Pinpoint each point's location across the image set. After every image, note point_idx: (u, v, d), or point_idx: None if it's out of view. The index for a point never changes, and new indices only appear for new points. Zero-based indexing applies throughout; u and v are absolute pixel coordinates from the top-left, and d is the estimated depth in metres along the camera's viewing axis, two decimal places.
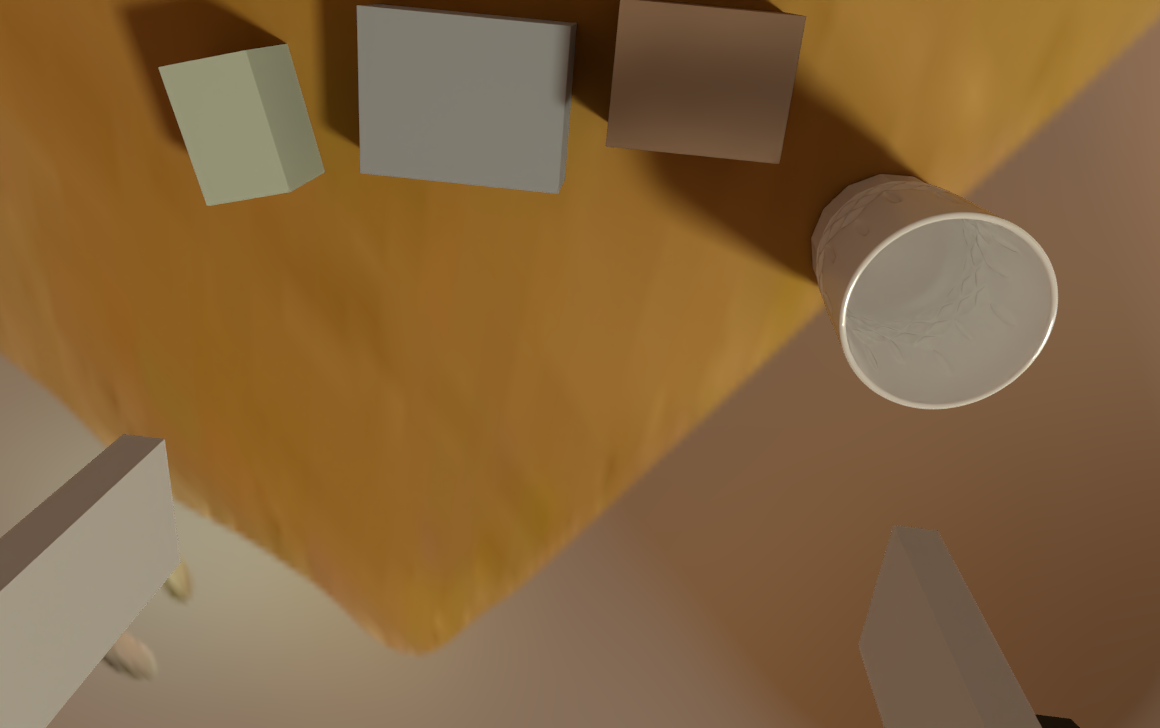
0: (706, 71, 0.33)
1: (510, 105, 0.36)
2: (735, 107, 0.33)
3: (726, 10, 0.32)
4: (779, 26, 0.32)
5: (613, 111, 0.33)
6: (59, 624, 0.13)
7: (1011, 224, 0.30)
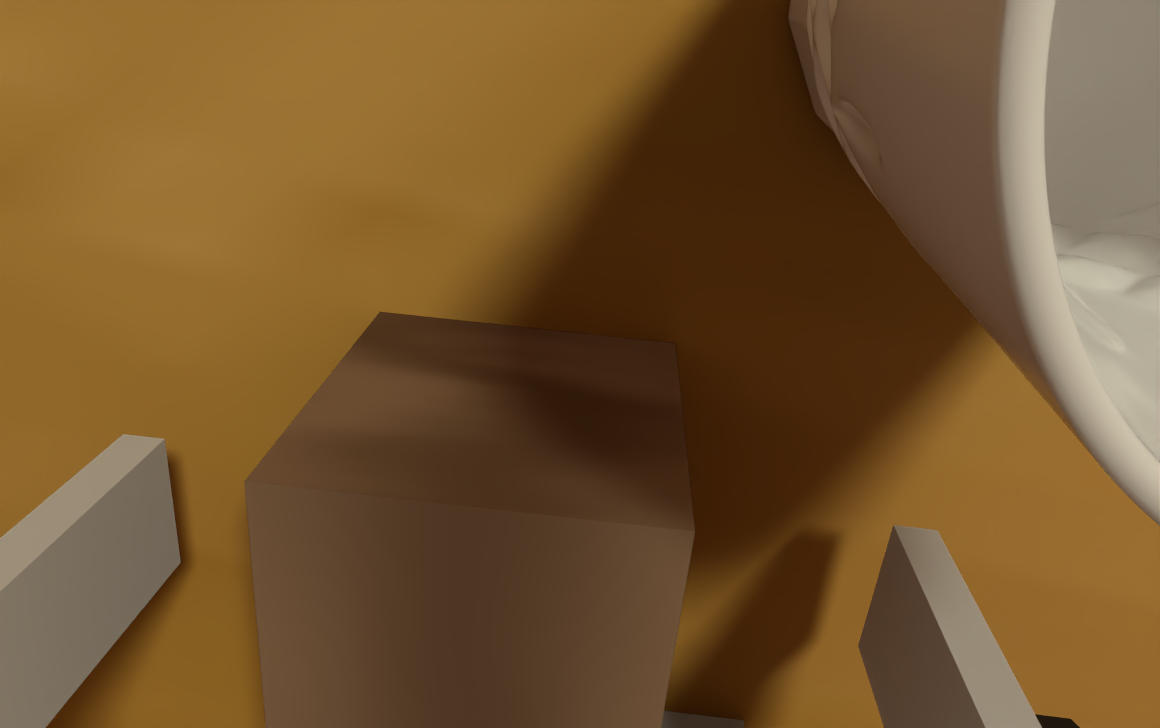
0: (426, 709, 0.12)
1: None
2: (521, 647, 0.11)
3: (265, 667, 0.11)
4: (283, 546, 0.11)
5: None
6: (59, 624, 0.13)
7: None
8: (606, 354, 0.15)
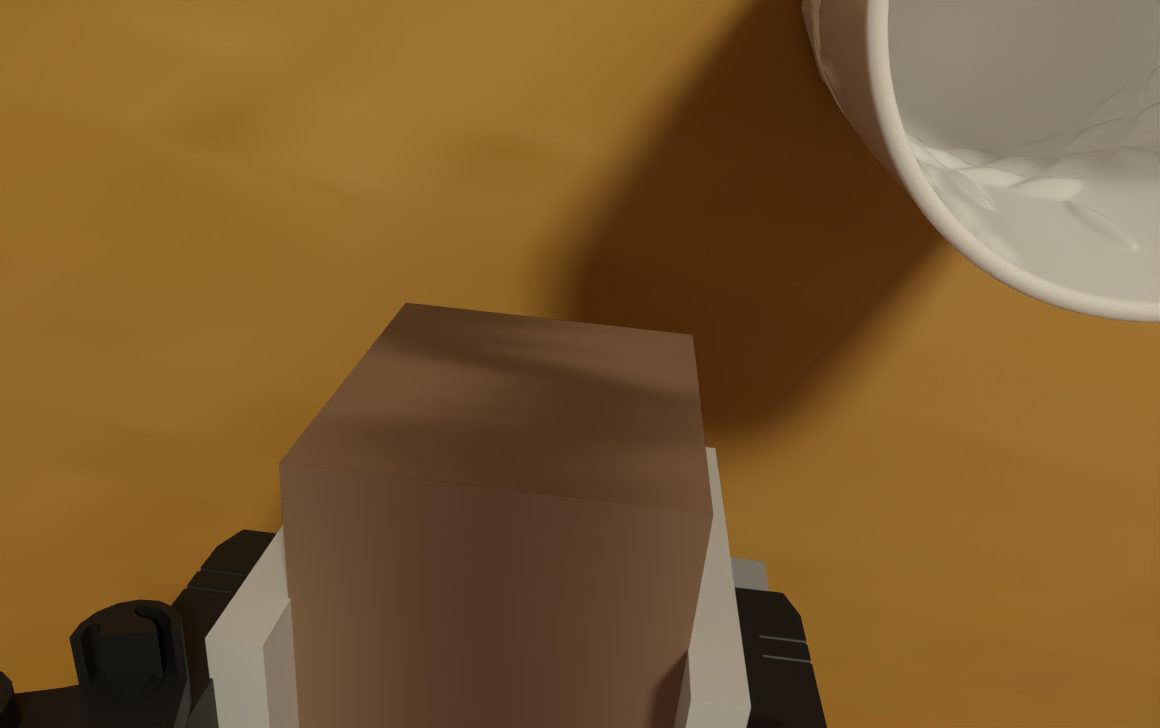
0: (451, 688, 0.12)
1: None
2: (543, 627, 0.11)
3: (296, 644, 0.12)
4: (316, 527, 0.11)
5: None
6: None
7: None
8: (625, 346, 0.15)
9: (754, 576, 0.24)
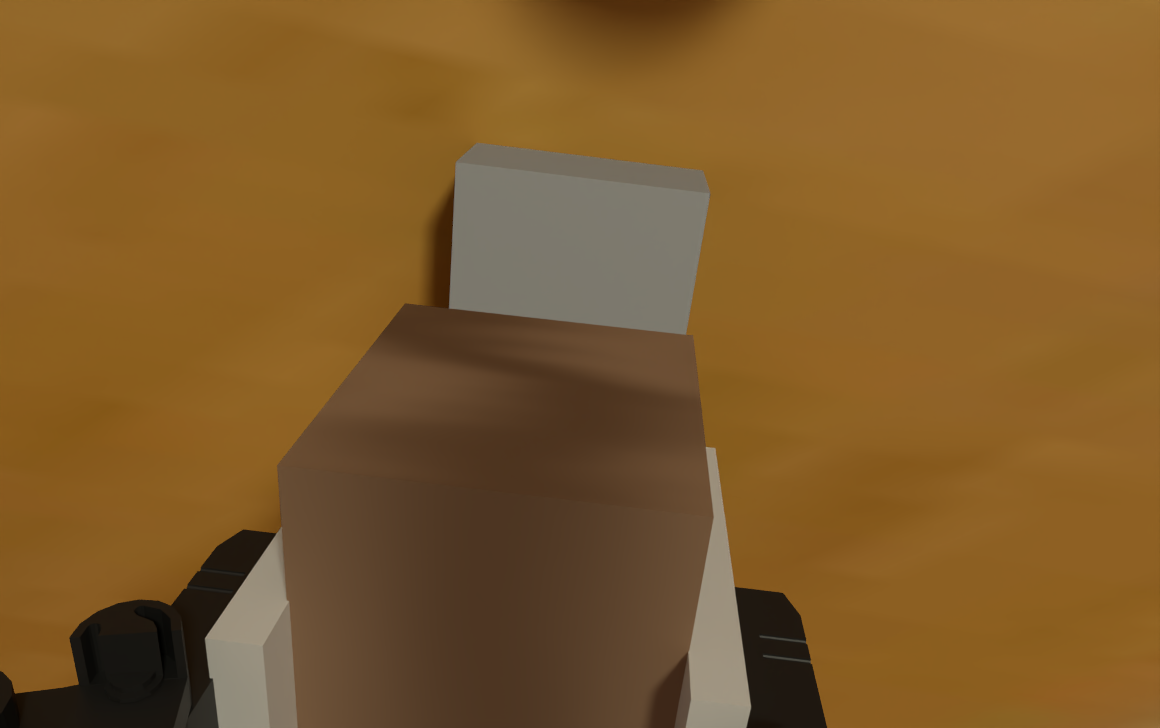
0: (450, 690, 0.12)
1: (569, 259, 0.24)
2: (542, 629, 0.11)
3: (294, 646, 0.12)
4: (314, 529, 0.11)
5: None
6: None
7: None
8: (626, 347, 0.15)
9: (692, 173, 0.25)
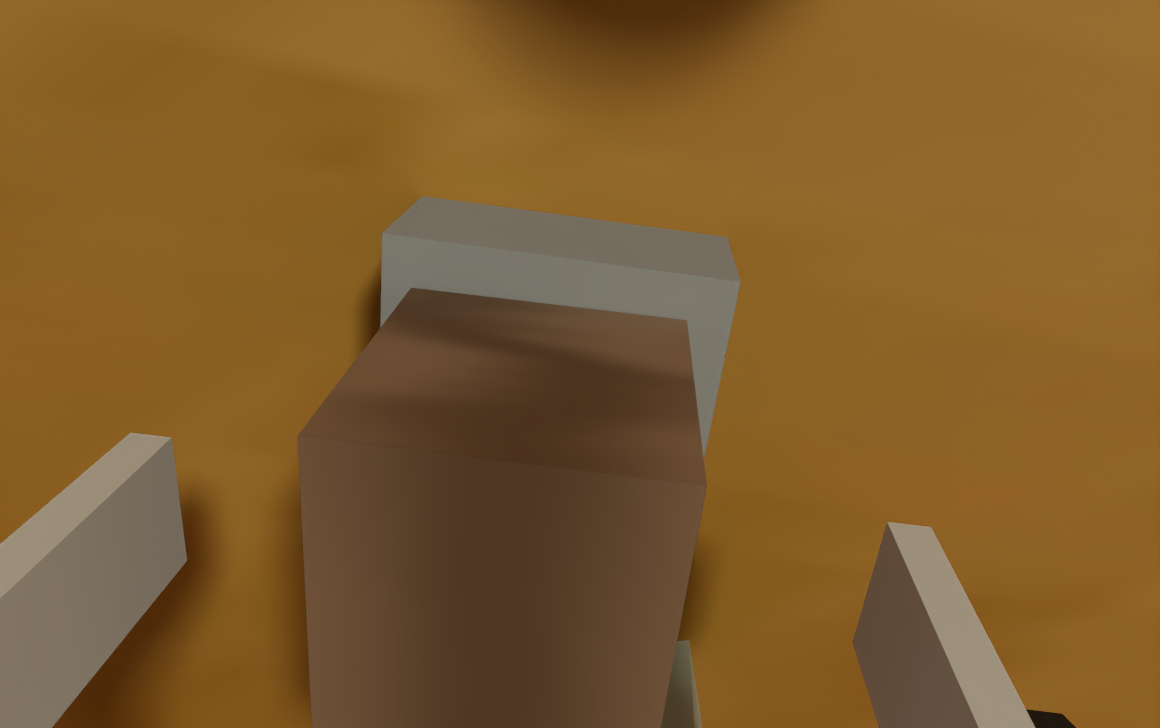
0: (457, 650, 0.13)
1: None
2: (545, 592, 0.12)
3: (310, 609, 0.13)
4: (331, 497, 0.12)
5: None
6: (68, 621, 0.13)
7: None
8: (623, 330, 0.16)
9: (713, 244, 0.18)
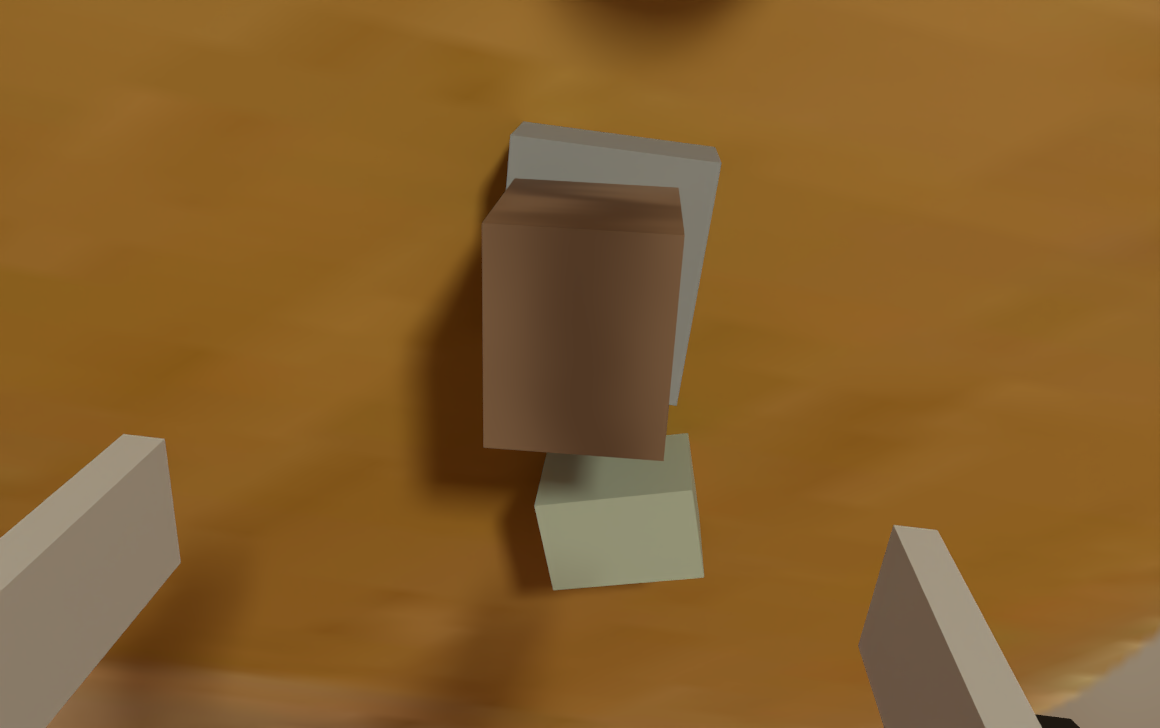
0: (561, 343, 0.24)
1: None
2: (606, 304, 0.24)
3: (484, 325, 0.24)
4: (497, 256, 0.23)
5: (618, 452, 0.25)
6: (59, 624, 0.13)
7: None
8: (641, 191, 0.27)
9: (706, 148, 0.30)
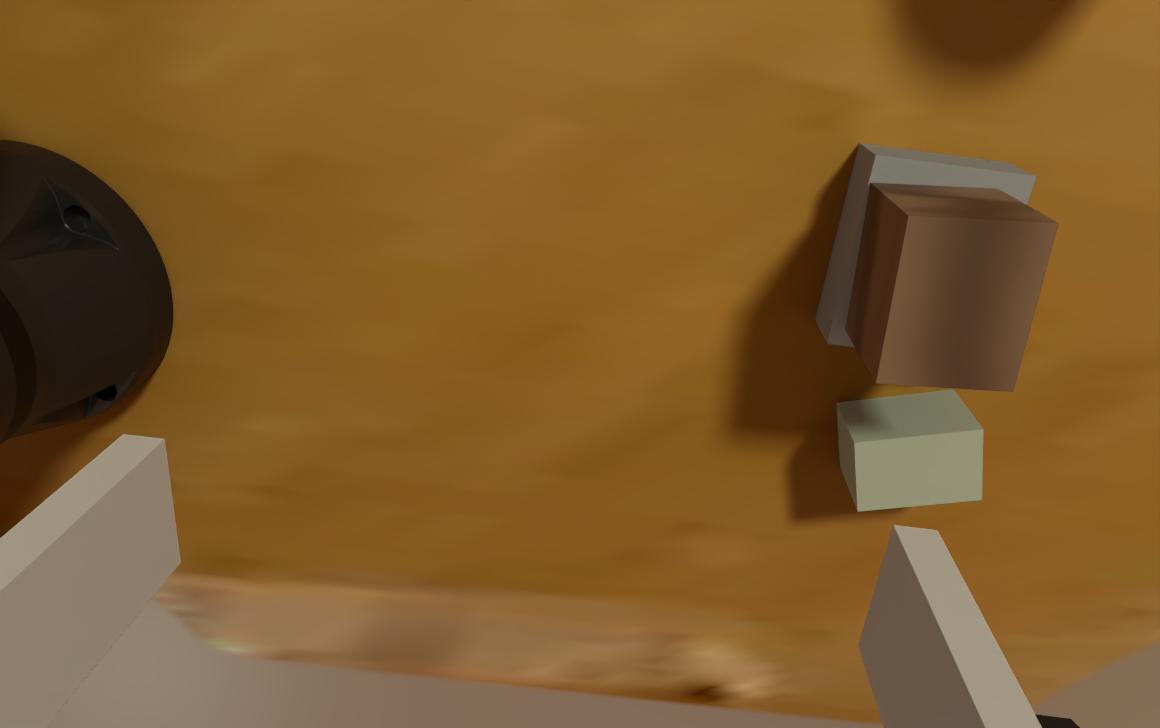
0: (951, 303, 0.33)
1: None
2: (991, 274, 0.32)
3: (895, 290, 0.33)
4: (915, 239, 0.32)
5: (979, 385, 0.34)
6: (59, 624, 0.13)
7: None
8: (976, 191, 0.36)
9: (1006, 164, 0.39)
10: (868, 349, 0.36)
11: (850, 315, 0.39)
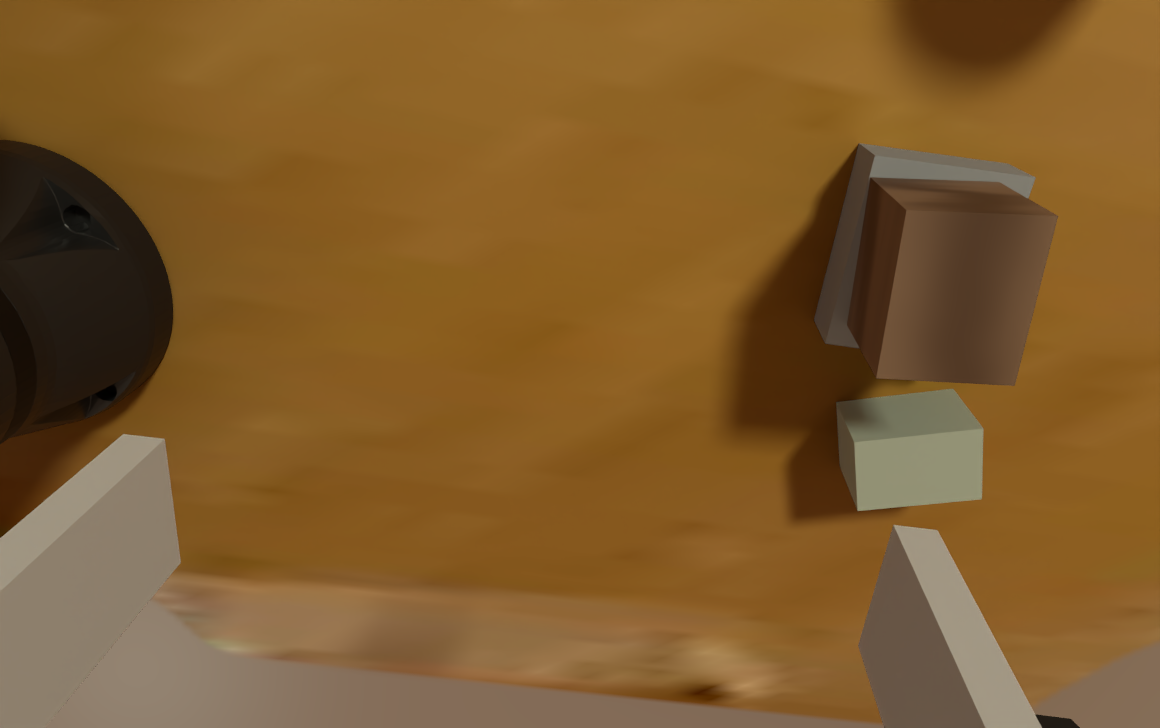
0: (951, 298, 0.33)
1: None
2: (990, 267, 0.32)
3: (894, 285, 0.33)
4: (913, 234, 0.32)
5: (980, 379, 0.34)
6: (59, 624, 0.13)
7: None
8: (977, 185, 0.36)
9: (1005, 165, 0.39)
10: (868, 344, 0.36)
11: (851, 310, 0.39)
